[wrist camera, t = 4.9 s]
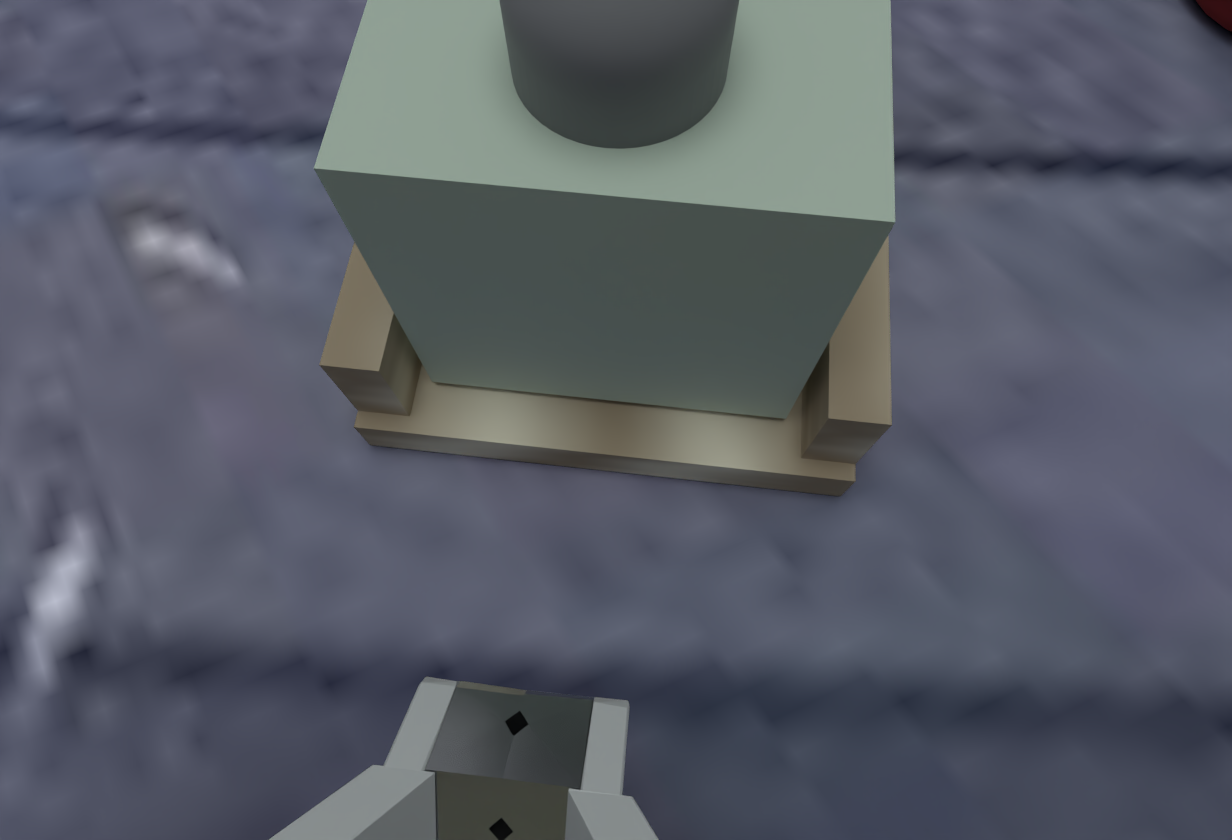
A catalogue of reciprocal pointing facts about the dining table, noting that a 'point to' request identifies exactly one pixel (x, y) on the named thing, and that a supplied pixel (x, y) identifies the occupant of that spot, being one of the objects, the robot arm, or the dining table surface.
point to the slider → (618, 188)
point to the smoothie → (1218, 11)
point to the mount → (621, 406)
